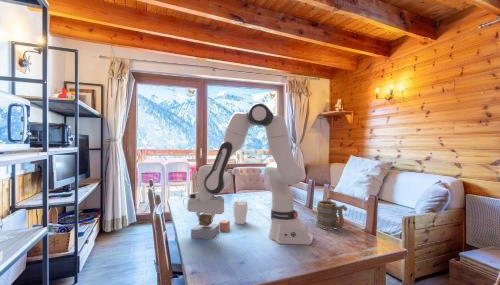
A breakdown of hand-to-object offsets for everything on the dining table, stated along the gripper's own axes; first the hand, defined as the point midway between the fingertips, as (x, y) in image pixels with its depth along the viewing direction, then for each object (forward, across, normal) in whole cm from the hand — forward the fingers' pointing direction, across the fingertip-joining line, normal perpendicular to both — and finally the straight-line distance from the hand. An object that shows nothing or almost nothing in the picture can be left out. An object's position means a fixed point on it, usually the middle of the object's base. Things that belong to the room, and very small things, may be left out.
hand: (205, 221), depth 125 cm
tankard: (+8, -66, -29) cm, 72 cm away
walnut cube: (+2, 0, 0) cm, 2 cm away
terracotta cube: (+7, -7, -10) cm, 14 cm away
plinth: (+7, 0, 0) cm, 7 cm away
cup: (+7, -12, -24) cm, 28 cm away
